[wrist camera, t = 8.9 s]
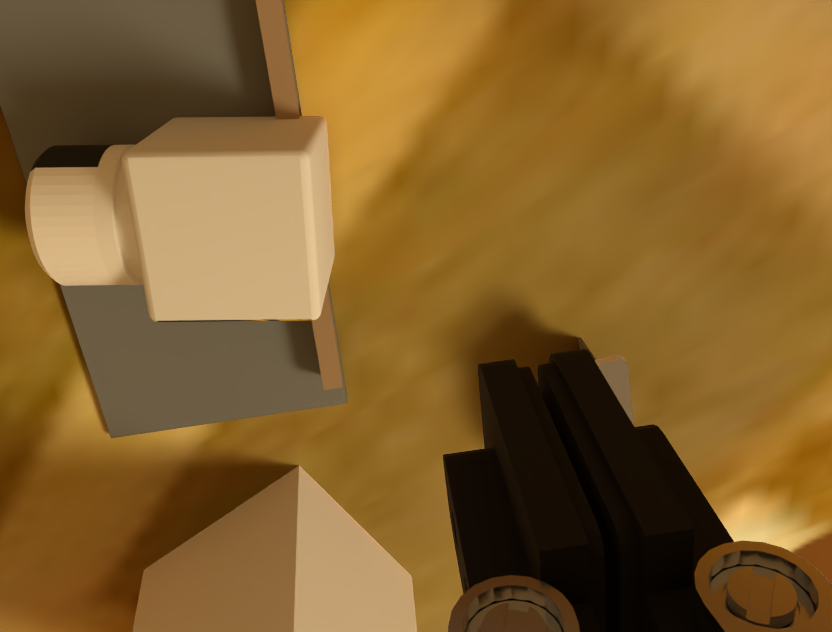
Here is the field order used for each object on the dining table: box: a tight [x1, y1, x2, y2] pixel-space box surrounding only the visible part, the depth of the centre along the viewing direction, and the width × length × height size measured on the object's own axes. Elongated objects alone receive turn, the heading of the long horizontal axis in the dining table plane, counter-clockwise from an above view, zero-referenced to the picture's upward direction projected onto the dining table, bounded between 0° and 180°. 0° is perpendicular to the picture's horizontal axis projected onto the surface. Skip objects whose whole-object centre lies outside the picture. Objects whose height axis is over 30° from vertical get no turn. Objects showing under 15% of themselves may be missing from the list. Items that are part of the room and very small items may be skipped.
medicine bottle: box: [25, 116, 335, 322], centre depth 33 cm, size 7×7×12 cm
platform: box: [578, 338, 634, 425], centre depth 42 cm, size 12×18×7 cm, turn 12°
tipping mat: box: [0, 0, 347, 438], centre depth 36 cm, size 13×24×2 cm, turn 5°
